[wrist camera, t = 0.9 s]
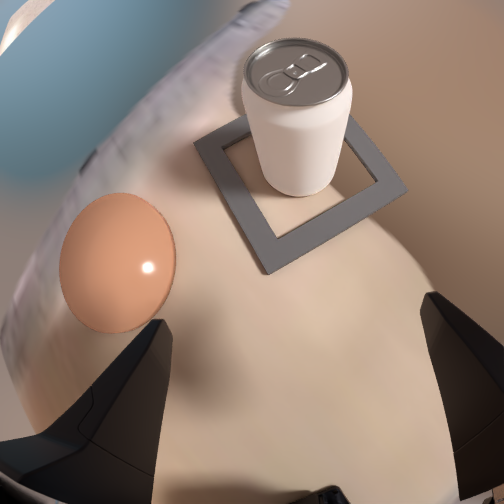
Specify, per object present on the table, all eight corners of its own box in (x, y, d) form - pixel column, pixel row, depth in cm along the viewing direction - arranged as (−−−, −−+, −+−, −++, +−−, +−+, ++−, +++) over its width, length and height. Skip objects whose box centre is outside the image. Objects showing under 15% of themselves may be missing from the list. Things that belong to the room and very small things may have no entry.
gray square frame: (406, 192, 23) (408, 190, 23) (268, 275, 24) (268, 274, 23) (318, 84, 26) (318, 80, 26) (195, 146, 27) (193, 143, 26)
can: (246, 164, 26) (211, 72, 14) (297, 121, 26) (292, 22, 14) (298, 214, 24) (299, 135, 13) (350, 165, 24) (379, 72, 13)
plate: (201, 292, 24) (196, 291, 23) (92, 353, 25) (85, 354, 24) (145, 172, 27) (139, 167, 26) (55, 240, 28) (48, 238, 26)
